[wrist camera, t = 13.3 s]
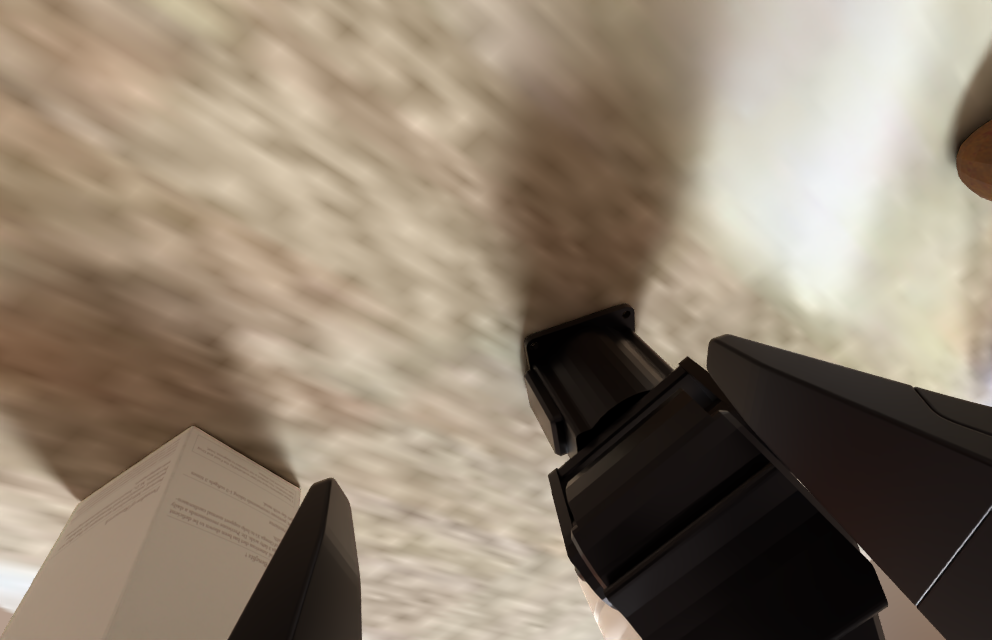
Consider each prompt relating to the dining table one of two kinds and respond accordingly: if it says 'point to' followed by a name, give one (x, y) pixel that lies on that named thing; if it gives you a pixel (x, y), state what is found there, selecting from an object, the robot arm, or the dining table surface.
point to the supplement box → (161, 549)
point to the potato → (977, 161)
